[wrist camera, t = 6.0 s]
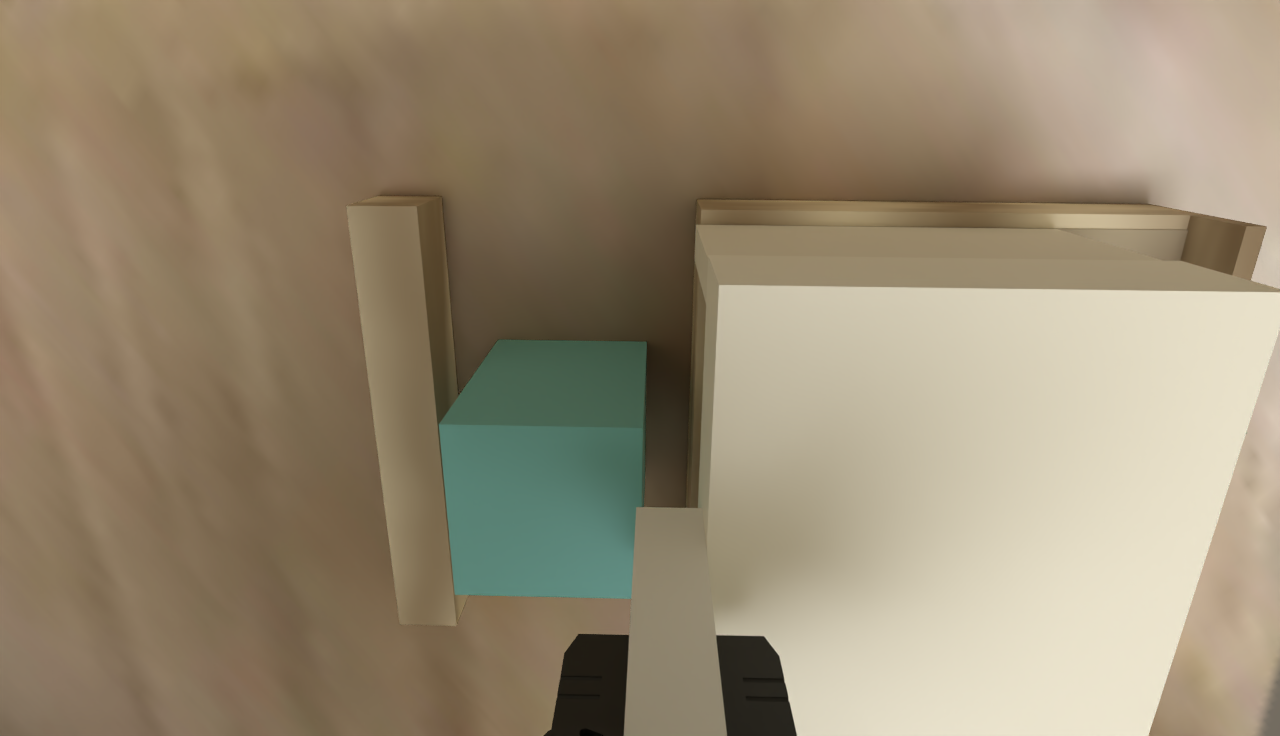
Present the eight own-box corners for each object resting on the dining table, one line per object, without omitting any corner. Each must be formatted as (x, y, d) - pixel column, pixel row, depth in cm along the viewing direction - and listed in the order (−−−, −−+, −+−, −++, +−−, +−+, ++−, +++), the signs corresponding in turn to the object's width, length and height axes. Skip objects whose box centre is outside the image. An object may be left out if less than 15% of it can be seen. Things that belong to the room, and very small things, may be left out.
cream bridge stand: (681, 625, 25) (692, 843, 17) (695, 220, 20) (718, 285, 13) (974, 631, 25) (1109, 853, 17) (1056, 225, 20) (1291, 292, 13)
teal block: (506, 471, 26) (454, 594, 19) (498, 339, 24) (438, 424, 18) (645, 474, 26) (641, 598, 19) (646, 341, 24) (642, 427, 17)
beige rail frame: (421, 580, 27) (378, 666, 23) (378, 195, 23) (314, 215, 18) (1055, 593, 27) (1129, 683, 23) (1150, 204, 22) (1266, 226, 18)
